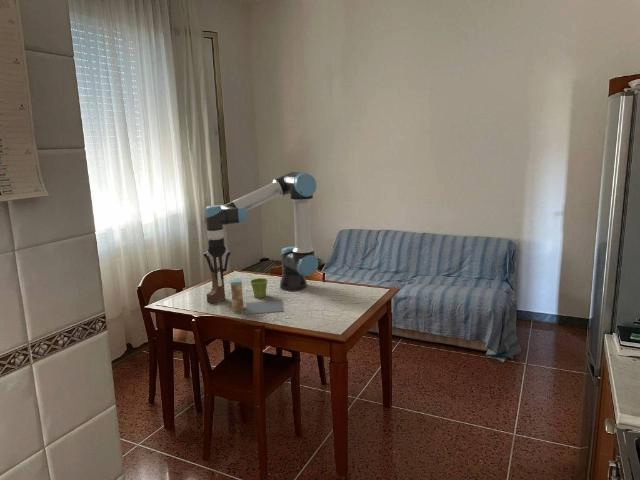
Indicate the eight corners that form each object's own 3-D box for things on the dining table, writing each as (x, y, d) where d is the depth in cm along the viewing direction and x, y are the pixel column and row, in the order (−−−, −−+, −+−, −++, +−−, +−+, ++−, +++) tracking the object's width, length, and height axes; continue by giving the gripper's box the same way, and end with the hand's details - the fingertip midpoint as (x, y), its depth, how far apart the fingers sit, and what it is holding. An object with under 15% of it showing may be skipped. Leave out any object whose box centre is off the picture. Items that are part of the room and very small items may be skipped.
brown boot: (212, 303, 242) (209, 270, 238) (206, 302, 244) (203, 269, 240) (225, 298, 249) (222, 265, 245) (219, 297, 251) (216, 264, 248)
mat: (281, 300, 242) (281, 300, 242) (283, 311, 227) (283, 310, 227) (246, 303, 240) (246, 302, 240) (246, 314, 224) (246, 314, 224)
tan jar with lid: (243, 307, 234) (241, 278, 231) (243, 311, 229) (241, 281, 226) (233, 308, 234) (231, 279, 231) (233, 311, 229) (230, 282, 226)
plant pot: (264, 299, 245) (263, 283, 243) (248, 298, 247) (247, 282, 246) (271, 294, 253) (270, 278, 252) (255, 292, 256) (254, 277, 254)
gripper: (230, 235, 227) (234, 282, 232) (202, 237, 226) (207, 284, 231) (229, 238, 220) (233, 286, 225) (201, 240, 218) (205, 288, 223)
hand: (220, 285), depth 228 cm, fingers closed
